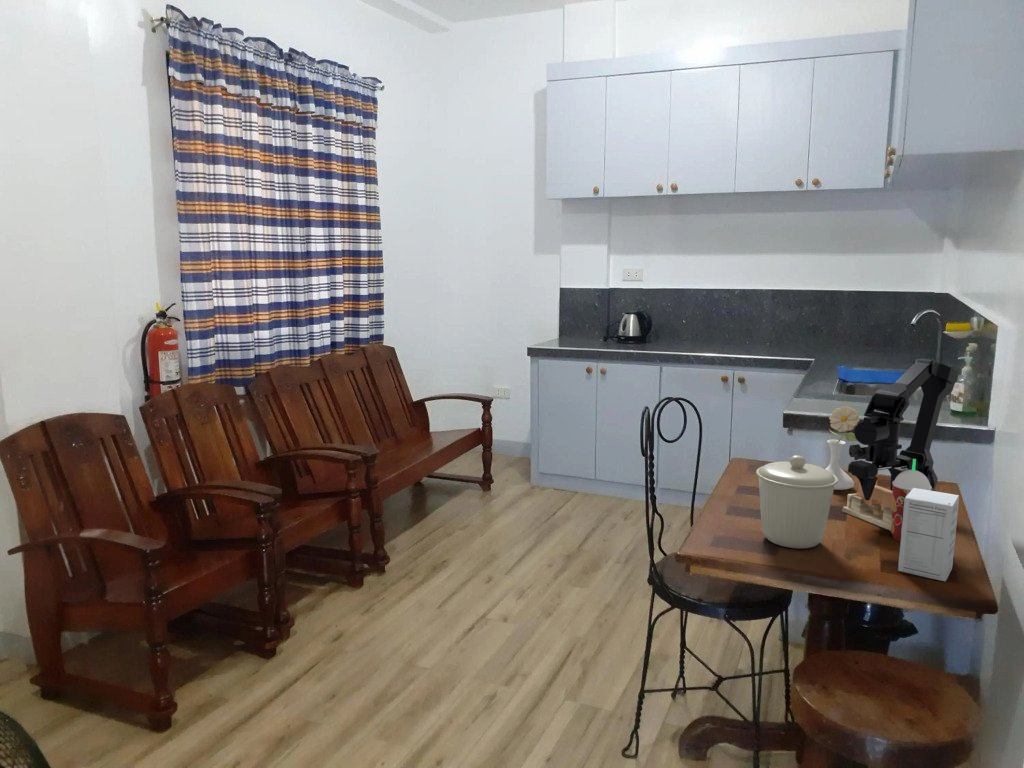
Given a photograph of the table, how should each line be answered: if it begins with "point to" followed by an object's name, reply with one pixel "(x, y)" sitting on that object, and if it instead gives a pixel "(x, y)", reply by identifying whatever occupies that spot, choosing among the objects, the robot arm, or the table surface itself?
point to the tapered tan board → (878, 497)
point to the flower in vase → (841, 443)
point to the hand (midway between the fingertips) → (880, 498)
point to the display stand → (868, 511)
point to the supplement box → (928, 533)
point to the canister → (795, 502)
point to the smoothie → (901, 490)
